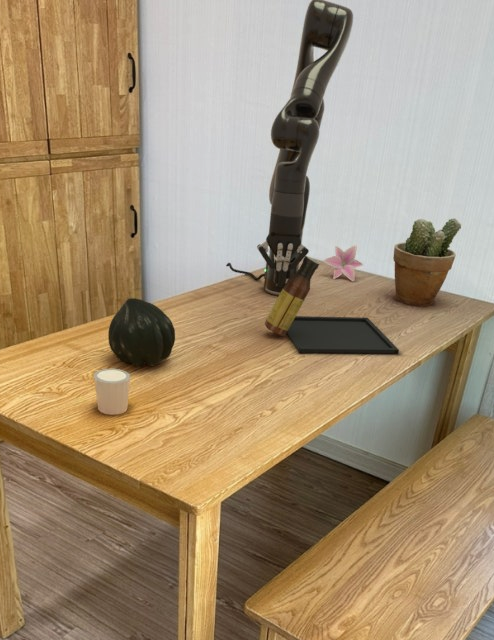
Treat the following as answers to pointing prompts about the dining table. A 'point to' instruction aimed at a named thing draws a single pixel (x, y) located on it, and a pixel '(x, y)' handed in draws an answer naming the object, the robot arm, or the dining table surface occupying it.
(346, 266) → the lily
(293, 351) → the dining table surface
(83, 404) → the dining table surface
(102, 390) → the white cup
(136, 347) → the squash
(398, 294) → the potted plant
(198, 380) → the dining table surface
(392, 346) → the tray
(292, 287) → the sauce bottle
